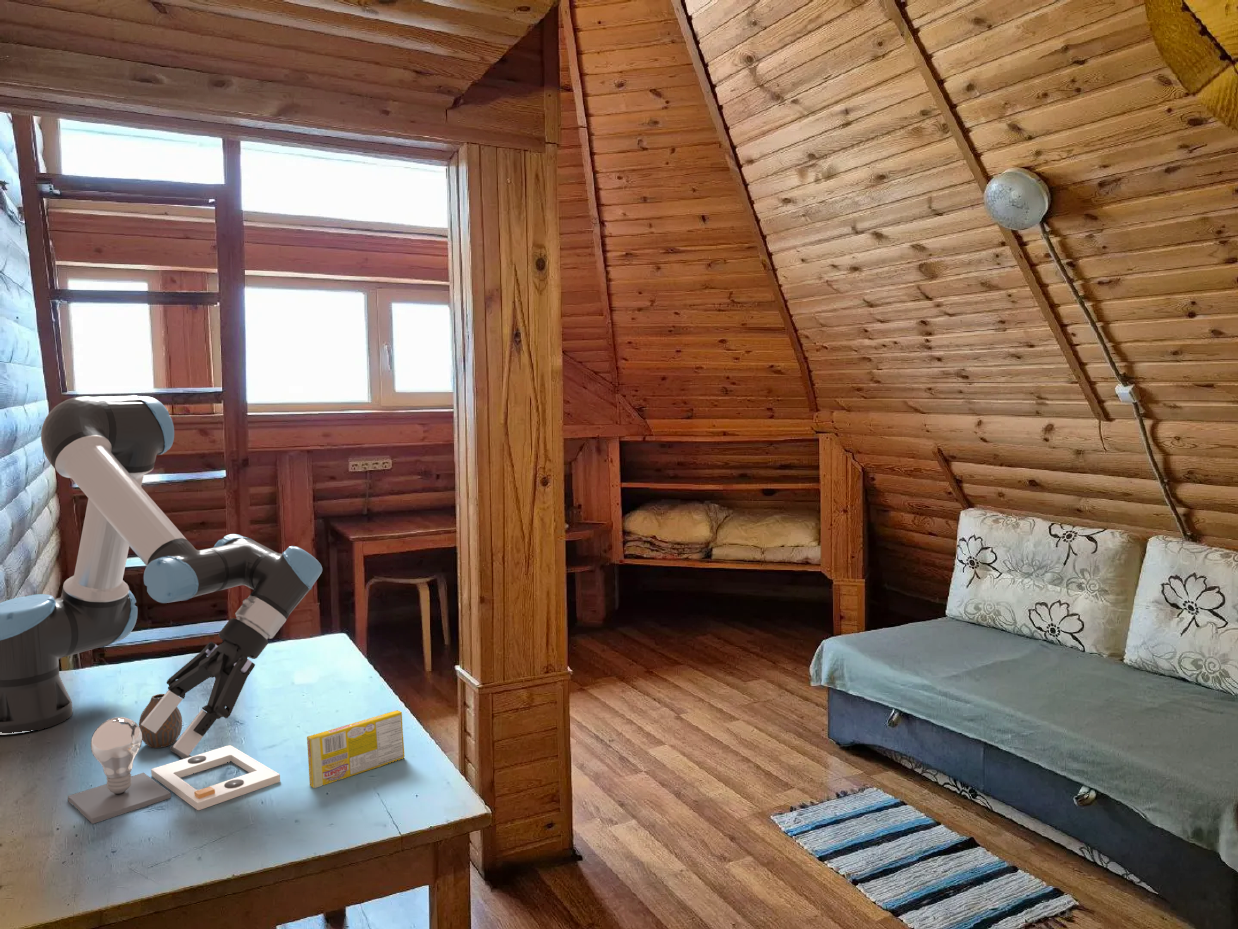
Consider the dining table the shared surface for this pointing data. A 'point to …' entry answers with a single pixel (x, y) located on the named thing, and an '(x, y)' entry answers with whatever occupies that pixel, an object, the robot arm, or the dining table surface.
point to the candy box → (355, 748)
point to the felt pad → (118, 799)
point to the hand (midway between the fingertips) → (163, 740)
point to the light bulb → (117, 751)
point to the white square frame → (218, 792)
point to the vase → (166, 731)
